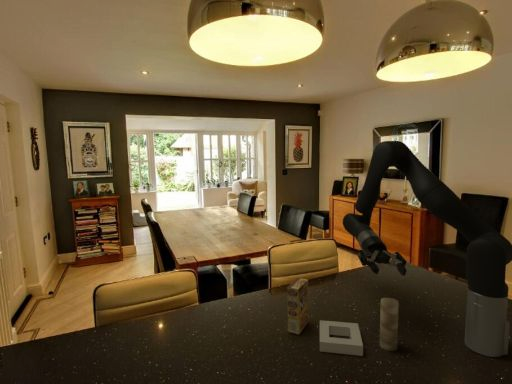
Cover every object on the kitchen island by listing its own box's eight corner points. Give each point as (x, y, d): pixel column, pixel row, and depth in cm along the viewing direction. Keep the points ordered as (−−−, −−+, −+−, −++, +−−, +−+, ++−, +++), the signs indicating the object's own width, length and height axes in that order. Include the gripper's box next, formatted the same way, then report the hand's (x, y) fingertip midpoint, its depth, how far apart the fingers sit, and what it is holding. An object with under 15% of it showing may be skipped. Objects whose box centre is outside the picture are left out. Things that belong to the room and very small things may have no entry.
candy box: (299, 335, 97) (299, 289, 95) (287, 331, 99) (286, 286, 97) (308, 322, 105) (308, 279, 103) (297, 319, 107) (297, 277, 105)
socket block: (357, 332, 98) (357, 323, 98) (362, 355, 86) (363, 346, 86) (319, 328, 100) (319, 320, 100) (319, 351, 89) (319, 341, 88)
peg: (394, 342, 92) (396, 298, 91) (398, 352, 88) (400, 305, 86) (378, 340, 93) (379, 297, 92) (381, 350, 89) (382, 304, 87)
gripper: (354, 234, 107) (371, 261, 92) (393, 236, 108) (416, 263, 93) (349, 252, 110) (366, 281, 95) (388, 254, 111) (410, 283, 96)
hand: (391, 272), depth 94 cm, fingers open, 8 cm apart
